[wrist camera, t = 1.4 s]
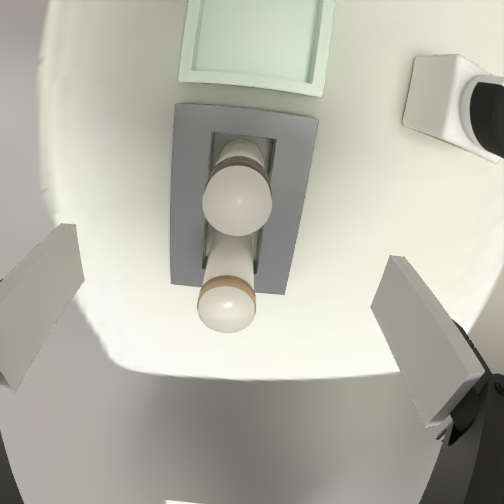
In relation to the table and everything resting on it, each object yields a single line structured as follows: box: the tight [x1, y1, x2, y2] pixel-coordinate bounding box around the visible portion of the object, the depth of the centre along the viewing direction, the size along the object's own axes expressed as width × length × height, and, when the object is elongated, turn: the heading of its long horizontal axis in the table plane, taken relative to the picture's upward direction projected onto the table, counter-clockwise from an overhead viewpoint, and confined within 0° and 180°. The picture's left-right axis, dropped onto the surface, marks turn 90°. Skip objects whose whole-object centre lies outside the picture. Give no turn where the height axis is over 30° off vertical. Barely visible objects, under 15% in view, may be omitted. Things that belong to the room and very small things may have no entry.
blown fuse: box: [202, 139, 272, 236], centre depth 23 cm, size 4×4×12 cm
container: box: [402, 54, 504, 164], centre depth 19 cm, size 8×8×13 cm
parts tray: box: [178, 0, 335, 97], centre depth 20 cm, size 14×12×2 cm
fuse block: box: [170, 103, 319, 295], centre depth 29 cm, size 18×12×2 cm, turn 173°
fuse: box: [197, 229, 256, 333], centre depth 27 cm, size 4×4×12 cm
